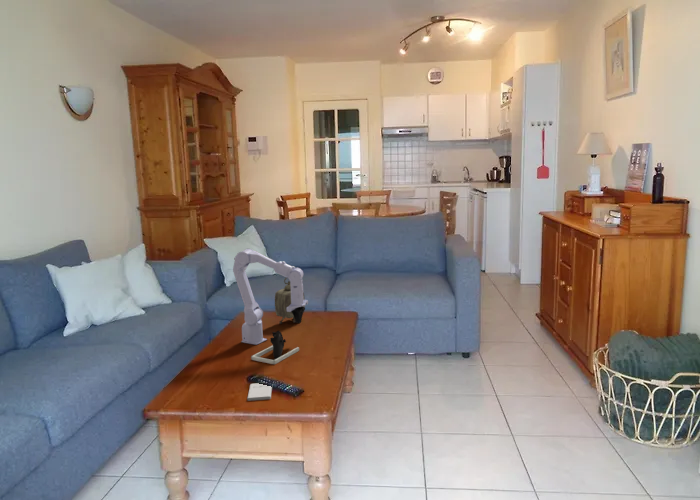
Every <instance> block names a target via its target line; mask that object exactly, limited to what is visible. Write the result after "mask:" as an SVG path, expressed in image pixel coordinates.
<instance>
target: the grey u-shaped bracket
mask: <svg viewBox="0 0 700 500" xmlns="http://www.w3.org/2000/svg"><path fill="white" fill-rule="evenodd" d="M271 351H273V344H272V345H270V346H268V347H267V348H264V349H263V350H261V351H259V352H257V353H255V354H253V355H251V356H250V359H251V360H252V361H256V362H262V363H267V364H270V365H277V364H278V363H280V362H282V361H283V360H285V359H287V358H289V357H291V356H292V355H294V354H296V353H297V352H300V347H298V346H297V347H295V348H293V349H292V350H289V351H288V352H287V353H284V354H283V355H282V354H281V357H279V358H277V359H269V358H264V357H261V356H263V355H265V354H268V353H269V352H271Z"/></svg>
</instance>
